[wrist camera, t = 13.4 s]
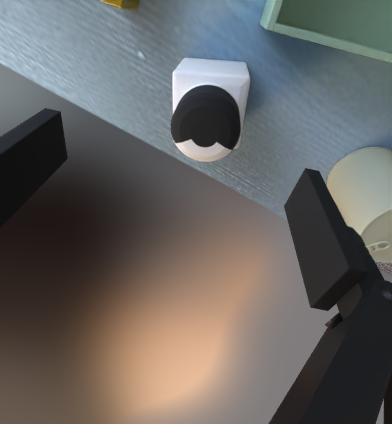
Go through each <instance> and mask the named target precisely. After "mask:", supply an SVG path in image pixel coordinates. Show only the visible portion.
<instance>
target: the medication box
mask: <svg viewBox="0 0 392 424" xmlns="http://www.w3.org/2000/svg"><path fill="white" fill-rule="evenodd" d="M100 1H102V2H104V3H106V4H108V5H111V6H113V7H116V8H120V9H129V10H138V7H139V0H100Z"/></svg>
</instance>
